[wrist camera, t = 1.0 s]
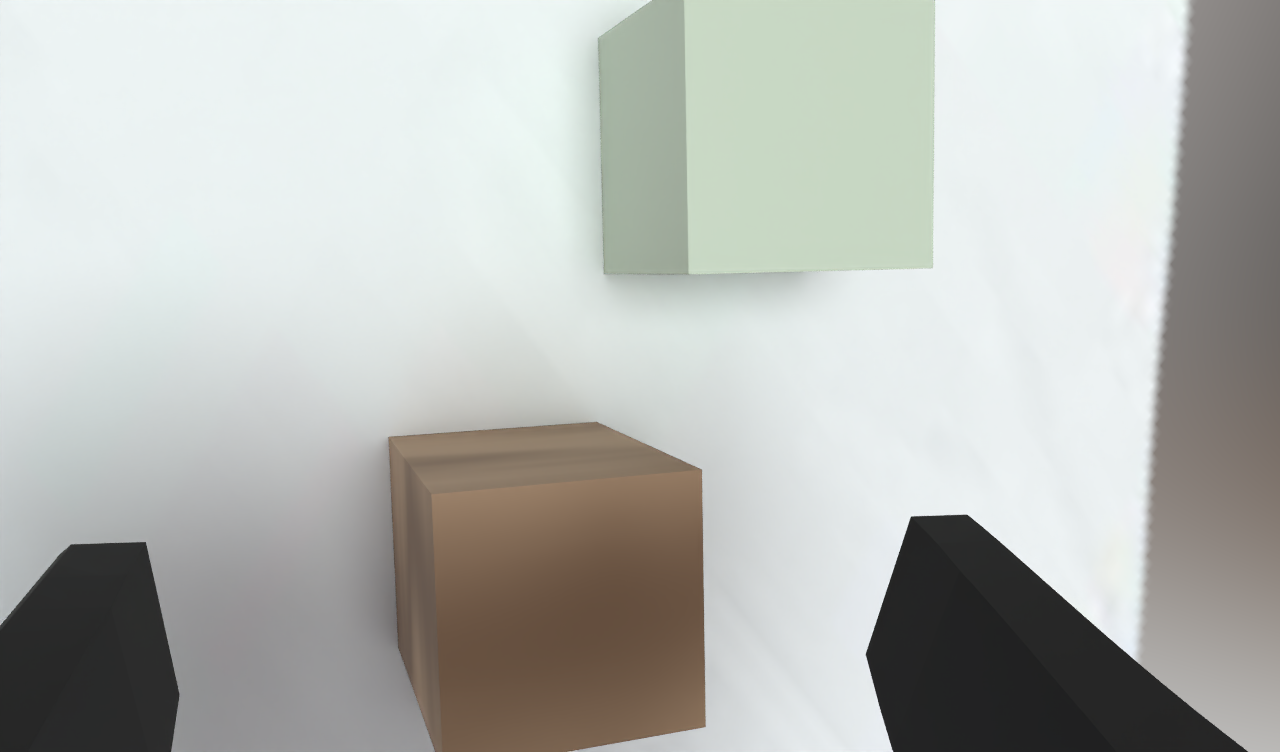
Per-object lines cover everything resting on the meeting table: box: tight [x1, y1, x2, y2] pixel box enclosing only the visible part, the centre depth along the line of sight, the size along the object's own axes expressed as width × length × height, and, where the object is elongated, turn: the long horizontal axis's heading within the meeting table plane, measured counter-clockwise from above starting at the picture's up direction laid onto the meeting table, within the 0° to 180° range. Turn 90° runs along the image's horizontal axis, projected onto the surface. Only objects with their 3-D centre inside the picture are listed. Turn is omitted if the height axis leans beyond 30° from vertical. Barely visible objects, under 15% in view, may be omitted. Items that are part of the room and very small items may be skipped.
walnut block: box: [389, 422, 706, 752], centre depth 20 cm, size 4×4×6 cm
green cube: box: [598, 0, 935, 274], centre depth 21 cm, size 5×5×5 cm
